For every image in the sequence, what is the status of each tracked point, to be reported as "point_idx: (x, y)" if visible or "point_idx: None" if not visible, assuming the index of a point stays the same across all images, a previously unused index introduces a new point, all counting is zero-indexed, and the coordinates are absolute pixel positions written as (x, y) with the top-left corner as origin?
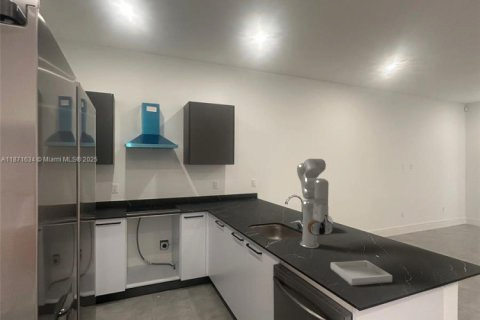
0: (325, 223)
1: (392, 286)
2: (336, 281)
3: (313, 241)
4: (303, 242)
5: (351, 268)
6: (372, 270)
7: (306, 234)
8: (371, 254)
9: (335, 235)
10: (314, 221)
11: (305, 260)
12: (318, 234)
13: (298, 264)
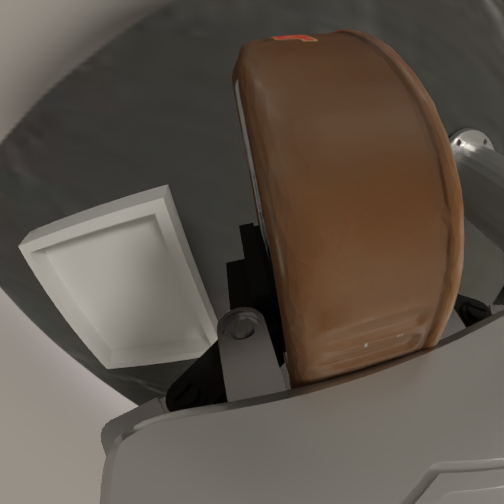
0: (108, 445)
1: (82, 341)
2: (40, 180)
3: None
4: (476, 145)
5: (168, 279)
6: (169, 339)
7: (500, 174)
8: None
9: (485, 301)
10: (341, 289)
11: None
12: (257, 206)
13: (206, 7)
